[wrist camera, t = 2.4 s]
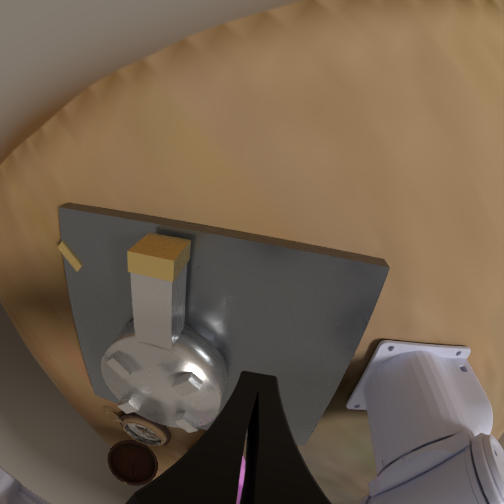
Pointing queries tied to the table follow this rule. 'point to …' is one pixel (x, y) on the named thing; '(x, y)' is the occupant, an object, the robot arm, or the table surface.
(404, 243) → the table surface
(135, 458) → the compass
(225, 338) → the plate
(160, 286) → the silver disc with handle
